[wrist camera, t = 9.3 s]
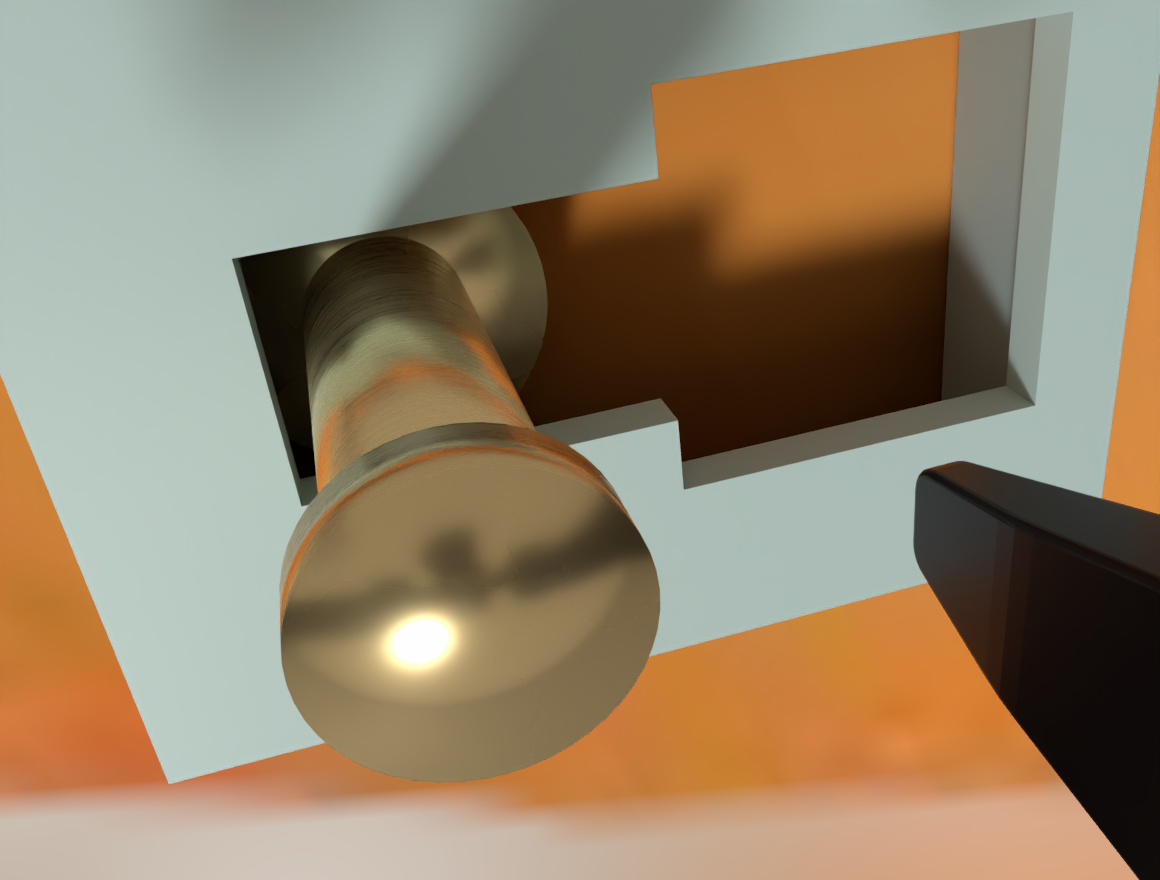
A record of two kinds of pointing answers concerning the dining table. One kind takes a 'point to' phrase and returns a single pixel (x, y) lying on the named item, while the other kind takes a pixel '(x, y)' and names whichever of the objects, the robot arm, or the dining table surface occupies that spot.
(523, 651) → the brass door knob
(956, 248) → the keyhole plate
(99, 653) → the dining table surface
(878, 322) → the dining table surface
